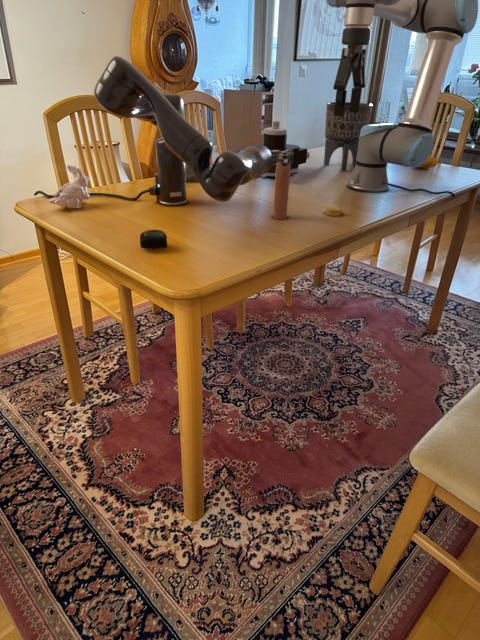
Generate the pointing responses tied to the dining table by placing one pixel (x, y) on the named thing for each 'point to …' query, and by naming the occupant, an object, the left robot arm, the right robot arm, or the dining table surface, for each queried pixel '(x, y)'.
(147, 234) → the tape measure
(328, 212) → the lid
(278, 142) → the mechanical component
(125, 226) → the dining table surface
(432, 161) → the toy
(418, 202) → the dining table surface
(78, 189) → the figurine
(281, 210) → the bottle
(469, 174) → the dining table surface
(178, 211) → the dining table surface
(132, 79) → the left robot arm
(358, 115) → the planter
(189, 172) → the rock
